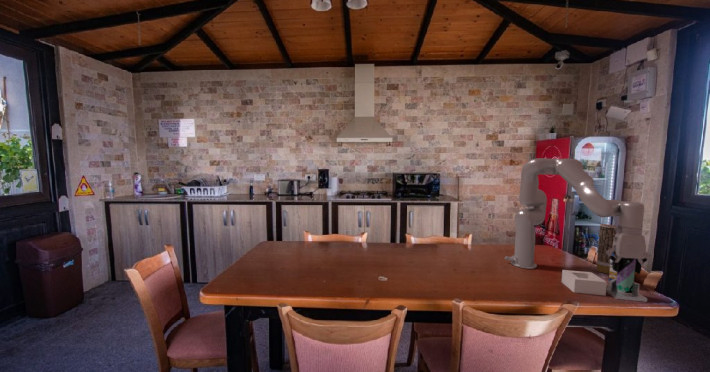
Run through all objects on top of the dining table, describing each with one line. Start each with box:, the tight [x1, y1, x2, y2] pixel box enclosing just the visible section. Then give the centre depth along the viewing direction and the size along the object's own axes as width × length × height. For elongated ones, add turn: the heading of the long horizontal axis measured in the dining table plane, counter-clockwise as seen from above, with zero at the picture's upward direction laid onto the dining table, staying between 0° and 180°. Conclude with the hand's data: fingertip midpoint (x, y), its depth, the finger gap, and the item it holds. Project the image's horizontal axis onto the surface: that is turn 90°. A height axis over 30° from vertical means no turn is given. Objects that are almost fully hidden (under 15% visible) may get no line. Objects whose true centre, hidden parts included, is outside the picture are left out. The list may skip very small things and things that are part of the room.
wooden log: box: [595, 223, 618, 275], centre depth 157 cm, size 7×7×25 cm
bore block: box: [561, 269, 608, 296], centre depth 135 cm, size 12×12×6 cm
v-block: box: [606, 278, 648, 303], centre depth 130 cm, size 11×11×6 cm
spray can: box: [616, 258, 636, 295], centre depth 128 cm, size 6×6×20 cm
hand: (626, 271), depth 128 cm, fingers open, 7 cm apart
